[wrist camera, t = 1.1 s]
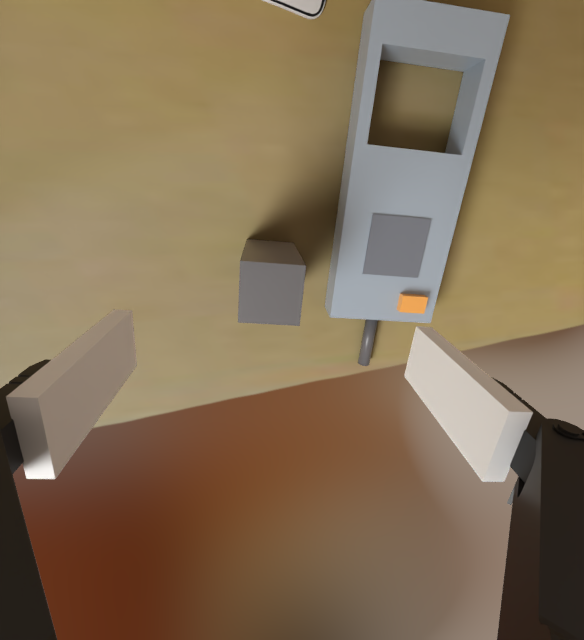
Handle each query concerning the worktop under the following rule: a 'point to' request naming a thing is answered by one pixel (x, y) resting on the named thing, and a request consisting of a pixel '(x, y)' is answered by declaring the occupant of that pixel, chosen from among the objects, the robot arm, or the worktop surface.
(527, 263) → the worktop surface
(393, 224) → the power strip
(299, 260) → the brick
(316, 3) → the smartphone
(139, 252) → the worktop surface
